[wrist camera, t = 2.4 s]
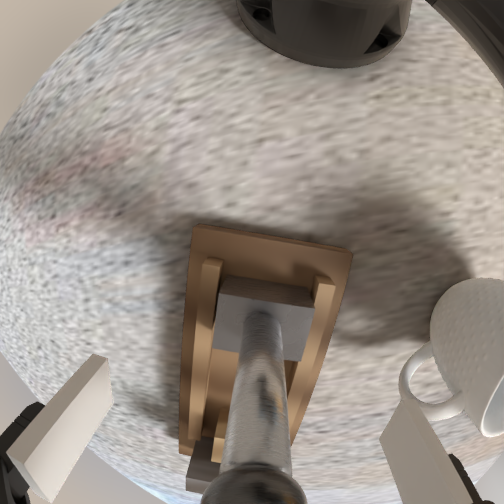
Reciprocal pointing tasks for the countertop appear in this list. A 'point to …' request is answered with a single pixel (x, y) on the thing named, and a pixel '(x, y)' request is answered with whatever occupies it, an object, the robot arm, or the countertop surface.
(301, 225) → the countertop surface
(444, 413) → the mug
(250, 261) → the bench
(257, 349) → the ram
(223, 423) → the small wooden cube
